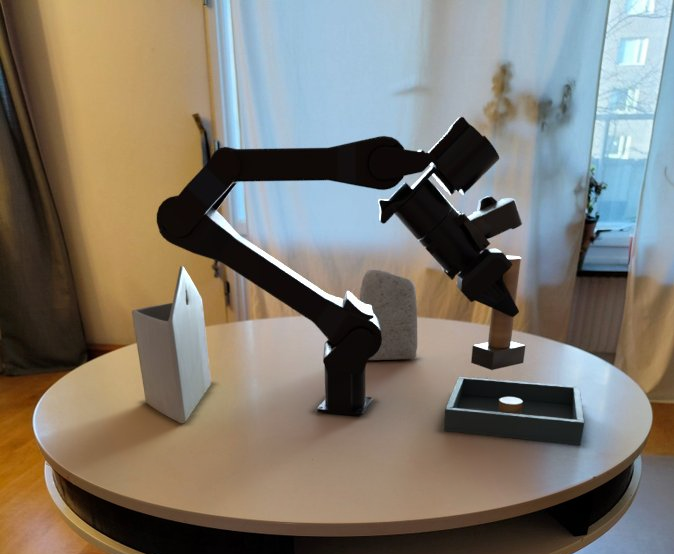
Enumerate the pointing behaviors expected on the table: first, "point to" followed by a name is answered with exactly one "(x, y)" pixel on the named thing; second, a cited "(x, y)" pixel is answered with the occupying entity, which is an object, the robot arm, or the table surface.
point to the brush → (501, 331)
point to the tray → (532, 424)
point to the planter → (174, 351)
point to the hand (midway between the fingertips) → (513, 311)
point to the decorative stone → (392, 313)
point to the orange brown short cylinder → (510, 405)
